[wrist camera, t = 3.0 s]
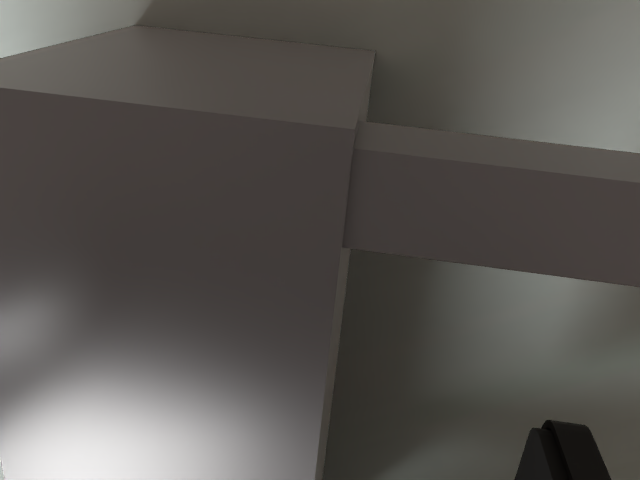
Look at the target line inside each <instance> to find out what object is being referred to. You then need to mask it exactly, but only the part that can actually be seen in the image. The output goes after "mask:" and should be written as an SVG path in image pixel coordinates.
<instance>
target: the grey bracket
mask: <svg viewBox="0 0 640 480" xmlns="http://www.w3.org/2000/svg"><path fill="white" fill-rule="evenodd" d="M374 58H375V51H371V50H361V49H352V48H343V47H334V46H324V45H315V44H306V43H296V42H287V41H278V40H269V39H259V38H250V37H241V36H232V35H222V34H213V33H204V32H194V31H185V30H176V29H167V28H157V27H148V26H139V25H133V26H129V27H125V28H121V29H117V30H113V31H109V32H105V33H101V34H97V35H93V36H89V37H85V38H80V39H76V40H72V41H68V42H64V43H60V44H56V45H52V46H48V47H44V48H40V49H36V50H32V51H28V52H24V53H20V54H16V55H12V56H8V57H4V58H0V461H1V465H2V470H3V475H4V480H323V472H324V464H325V456H326V447H327V439H328V431H329V423H330V415H331V407H332V399H333V391H334V383H335V374H336V366H337V358H338V350H339V342H340V334H341V326H342V318H343V310H344V301H345V293H346V285H347V277H348V269H349V261H350V253H351V249H356V250H364V251H371V252H379V253H387V254H394V255H402V256H409V257H417V258H424V259H432V260H439V261H447V262H454V263H462V264H470V265H477V266H485V267H492V268H500V269H507V270H515V271H522V272H530V273H538V274H545V275H553V276H560V277H568V278H575V279H583V280H590V281H598V282H605V283H613V284H621V285H628V286H636V287H640V153H631V152H623V151H614V150H606V149H597V148H589V147H580V146H571V145H563V144H554V143H546V142H537V141H529V140H520V139H511V138H503V137H494V136H486V135H477V134H469V133H460V132H451V131H443V130H434V129H426V128H417V127H409V126H400V125H391V124H383V123H374V122H367V115H368V107H369V99H370V91H371V83H372V74H373V66H374Z"/></svg>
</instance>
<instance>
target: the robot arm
mask: <svg viewBox="0 0 640 480" xmlns="http://www.w3.org/2000/svg"><path fill="white" fill-rule="evenodd" d="M515 480H611V478H610V475H609V473H608V471H607V468H606V466H605V464H604V461H603V459H602V457H601V454H600V452H599V450H598V447H597V445H596V443H595V440H594V438H593V436H592V433H591V432H590V430H589V428H588V427H587V426H585V425H580V424H573V423H566V422H559V421H552V420H547V421H545V423H544V424H543V426H542V428H541V429H540V428H532V429H531V430H530V433H529V436H528V439H527V442H526V445H525V448H524V452H523V455H522V458H521V461H520V464H519V468H518V471H517V474H516V477H515Z"/></svg>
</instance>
